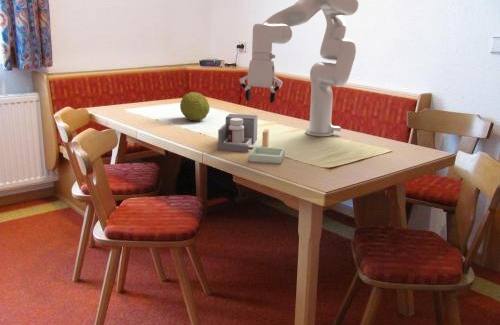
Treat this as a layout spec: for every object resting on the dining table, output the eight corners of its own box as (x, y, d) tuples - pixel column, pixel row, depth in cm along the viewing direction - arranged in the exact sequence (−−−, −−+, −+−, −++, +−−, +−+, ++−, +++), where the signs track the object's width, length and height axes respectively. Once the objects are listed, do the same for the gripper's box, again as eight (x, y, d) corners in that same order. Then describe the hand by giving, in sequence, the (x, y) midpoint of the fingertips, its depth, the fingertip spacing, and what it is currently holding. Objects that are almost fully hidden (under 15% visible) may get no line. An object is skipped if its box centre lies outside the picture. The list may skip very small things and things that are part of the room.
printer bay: (256, 139, 205) (257, 115, 202) (247, 152, 186) (248, 125, 183) (229, 137, 207) (230, 113, 204) (218, 150, 188) (218, 123, 185)
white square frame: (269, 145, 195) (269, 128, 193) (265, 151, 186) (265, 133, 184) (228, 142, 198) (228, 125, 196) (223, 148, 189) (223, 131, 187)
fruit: (217, 120, 240) (210, 96, 230) (191, 132, 237) (183, 108, 227) (205, 105, 251) (197, 81, 241) (180, 116, 248) (171, 92, 238)
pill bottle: (228, 144, 196) (228, 117, 193) (243, 144, 196) (243, 117, 193) (228, 148, 190) (229, 120, 187) (244, 148, 191) (244, 120, 187)
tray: (284, 155, 183) (284, 148, 182) (280, 164, 172) (280, 157, 171) (254, 153, 185) (254, 146, 184) (248, 161, 174) (248, 154, 173)
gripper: (285, 57, 186) (283, 101, 191) (243, 55, 191) (242, 98, 195) (281, 59, 179) (278, 104, 184) (237, 56, 184) (236, 101, 189)
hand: (260, 101), depth 190 cm, fingers open, 9 cm apart
